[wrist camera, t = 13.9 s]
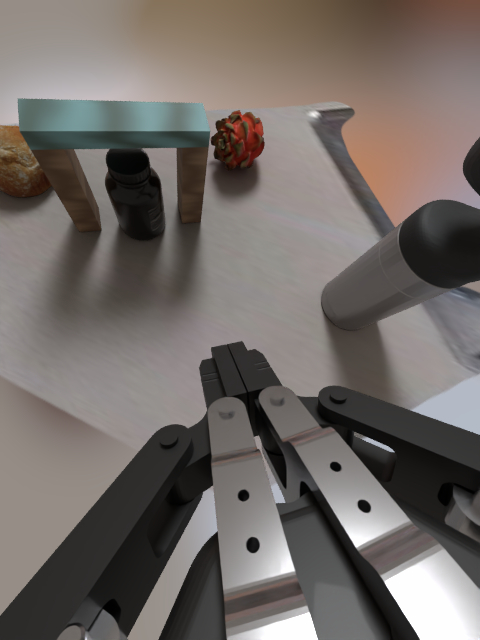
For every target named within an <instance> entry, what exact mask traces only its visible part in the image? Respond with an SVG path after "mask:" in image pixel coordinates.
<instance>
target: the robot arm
mask: <svg viewBox="0 0 480 640" xmlns="http://www.w3.org/2000/svg"><path fill="white" fill-rule="evenodd" d="M463 173H464V176H465V177H466V180H467V181H468V183H469V184H470V185H471V187H472V188H473V189H474V190H475V191H476V192H477V193H478V194H479V196H480V138H479V139H478V140H477V141H476V142H475V144H474V145H473V146H472V148H471V149H470V151H469V152H468V154H467V156H466V158H465V160H464V163H463ZM479 280H480V209H477V208H474V207H471V206H468V205H466V204H464V203H460V202H457V201H453V200H437V201H432V202H430V203H427V204H425V205H423V206H422V207H421V208H419V209H418V210H416V211H415V212H414V213H413V214H412V215H410V216H409V217H408V218H407V219H405V220H404V221H403V222H402V223H401V224H399V225H398V226H397V227H396V228H395V229H393V230H392V231H391V232H390V233H388V234H387V235H386V236H385V237H384V238H383V239H381V240H380V241H379V242H378V243H377V244H375V245H374V246H373V247H372V248H370V249H369V250H368V251H367V252H366V253H364V254H363V255H362V256H361V257H359V258H358V259H357V260H356V261H355V262H353V263H352V264H351V265H350V266H349V267H347V268H346V269H345V270H344V271H342V272H341V273H340V274H339V275H338V276H336V277H335V278H334V279H333V280H331V281H330V282H329V283H328V284H327V285H326V286H325V288H324V290H323V292H322V306H323V309H324V312H325V314H326V315H327V317H328V318H329V319H330V320H331V321H332V322H333V323H334V324H335V325H337V326H338V327H340V328H342V329H346V330H357V329H360V328H363V327H365V326H367V325H370V324H372V323H375V322H377V321H380V320H382V319H384V318H387V317H389V316H391V315H394V314H396V313H399V312H401V311H403V310H406V309H408V308H410V307H413V306H415V305H418V304H420V303H422V302H425V301H427V300H429V299H432V298H434V297H436V296H439V295H441V294H443V293H446V292H448V291H450V290H453V289H455V288H458V287H460V286H462V285H465V284H467V283H470V282H475V281H479ZM211 352H212V358H211V359H206V360H202V362H201V364H200V367H199V370H200V375H201V381H202V387H203V392H204V397H205V402H206V407H207V412H206V414H205V416H204V418H203V419H202V420H201V421H200V422H198V423H197V424H195V425H194V426H192V427H190V428H186V427H185V426H183V425H178V424H174V425H168V426H165V427H163V428H161V429H160V430H158V431H157V432H156V433H155V434H154V435H153V436H152V437H151V438H150V439H149V440H148V442H147V443H146V444H145V445H144V446H143V448H142V449H141V450H140V451H139V452H138V453H137V455H136V456H135V457H134V458H133V459H132V461H131V462H130V463H129V464H128V465H127V466H126V468H125V469H124V470H123V471H122V472H121V474H120V475H119V476H118V477H117V478H116V479H115V481H114V482H113V483H112V484H111V486H110V487H109V488H108V489H107V490H106V491H105V493H104V494H103V495H102V496H101V497H100V498H99V500H98V501H97V502H96V503H95V504H94V506H93V507H92V508H91V509H90V510H89V511H88V513H87V514H86V515H85V516H84V517H83V519H82V520H81V521H80V522H79V523H78V524H77V526H76V527H75V528H74V529H73V530H72V532H71V533H70V534H69V535H68V536H67V537H66V539H65V540H64V541H63V542H62V544H61V545H60V546H59V547H58V548H57V549H56V550H55V552H54V553H53V554H52V555H51V556H50V558H49V559H48V560H47V561H46V562H45V563H44V565H43V566H42V567H41V568H40V569H39V571H38V572H37V573H36V574H35V575H34V576H33V578H32V579H31V580H30V581H29V582H28V584H27V585H26V586H25V587H24V588H23V590H22V591H21V592H20V593H19V594H18V596H17V597H16V598H15V599H14V600H13V602H12V603H11V604H10V605H9V606H8V607H7V608H6V610H5V611H4V612H3V613H2V614H1V616H0V640H128V639H127V637H128V635H129V633H130V631H131V629H132V628H133V626H134V624H135V622H136V620H137V618H138V616H139V615H140V612H141V611H142V609H143V607H144V605H145V603H146V601H147V599H148V597H149V596H150V594H151V592H152V590H153V588H154V586H155V584H156V583H157V581H158V579H159V577H160V575H161V573H162V571H163V569H164V568H165V566H166V564H167V562H168V560H169V558H170V556H171V555H172V553H173V551H174V549H175V547H176V545H177V543H178V541H179V540H180V538H181V536H182V534H183V532H184V530H185V528H186V527H187V525H188V523H189V521H190V519H191V517H192V515H193V513H194V511H195V510H196V508H197V506H198V504H199V502H200V500H201V498H202V495H203V492H204V491H205V490H207V489H208V488H210V487H211V486H213V487H214V497H215V507H216V518H217V528H218V531H217V532H216V533H215V534H214V535H213V536H212V537H211V538H210V539H209V540H208V541H207V542H206V543H205V544H204V546H203V547H202V548H201V550H200V551H199V553H198V554H197V556H196V558H195V559H194V561H193V563H192V565H191V567H190V569H189V571H188V573H187V576H186V578H185V580H184V582H183V585H182V587H181V589H180V592H179V594H178V596H177V599H176V601H175V603H174V606H173V608H172V610H171V612H170V615H169V617H168V619H167V621H166V624H165V626H164V628H163V630H162V633H161V635H160V637H159V640H480V435H478V434H475V433H473V432H470V431H467V430H464V429H461V428H458V427H455V426H453V425H450V424H447V423H444V422H441V421H438V420H436V419H433V418H430V417H427V416H424V415H421V414H419V413H416V412H413V411H410V410H407V409H404V408H402V407H399V406H396V405H393V404H390V403H387V402H385V401H382V400H379V399H376V398H373V397H370V396H367V395H365V394H362V393H359V392H356V391H353V390H350V389H348V388H345V387H341V386H328V387H325V388H323V389H322V390H321V391H320V392H319V395H318V397H300V396H296V395H295V394H294V392H293V391H292V390H290V389H289V388H287V387H284V386H282V384H281V383H280V381H279V379H278V378H277V376H276V375H275V373H274V371H273V370H272V368H271V367H270V365H269V363H268V362H267V360H266V358H265V357H264V355H263V354H262V353H260V352H259V351H257V350H256V349H253V350H249V351H247V349H246V347H245V345H244V343H243V342H242V341H241V342H236V343H231V344H227V345H221V346H216V347H211ZM354 432H357V433H359V434H361V435H364V436H366V437H368V438H371V439H373V440H375V441H378V442H380V443H382V444H384V445H387V446H389V447H390V448H391V449H393V450H394V451H395V452H389V451H386V450H384V449H382V448H380V447H378V446H375V445H373V444H371V443H368V442H366V441H364V440H362V439H360V438H357V437H355V436H354ZM258 435H259V437H260V439H261V442H262V452H263V455H264V457H265V459H266V461H267V463H268V465H269V467H270V469H271V471H272V473H273V475H274V477H275V480H276V482H277V484H278V486H279V488H280V490H281V492H282V494H283V496H284V499H285V502H286V503H275V500H274V496H273V493H272V489H271V486H270V482H269V479H268V475H267V472H266V468H265V465H264V461H263V458H262V455H261V452H260V450H259V449H257V447H256V443H255V439H254V437H255V436H258Z"/></svg>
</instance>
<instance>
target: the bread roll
mask: <svg viewBox="0 0 480 640" xmlns="http://www.w3.org/2000/svg"><path fill="white" fill-rule="evenodd" d="M51 186H52V185H51V183H50V182H49V180H48V178H47V177H46V175H45V173H44V171H43V170H42V168H41V166H40V165H39V163H38V161H37V160H36V158H35V156H34V155H33V153H32V151H31V150H30V148H29V146H28V145H27V143H26V141H25V139H24V138H23V136H22V134H21V133H20V130H19V126H3V125H0V190H1V191H3V192H5V193H6V194H8V195H11V196H16V197H31V196H36V195H39V194H42V193H44V192H45V191H46V190H47V189H48V188H50V187H51Z"/></svg>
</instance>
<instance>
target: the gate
mask: <svg viewBox="0 0 480 640" xmlns="http://www.w3.org/2000/svg"><path fill="white" fill-rule="evenodd" d="M18 113H19V130H20V133H21V134H22V136H23V138H24V139H25V141H26V143H27V145H28V146H29V148H30V150H31V151H32V153H33V155H34V156H35V158H36V160H37V161H38V163H39V165H40V166H41V168H42V170H43V171H44V173H45V175H46V177H47V178H48V180H49V182H50V183H51V185H52V187H53V188H54V190H55V192H56V193H57V195H58V197H59V198H60V200H61V202H62V203H63V205H64V207H65V208H66V210H67V212H68V214H69V215H70V217H71V219H72V220H73V222H74V224H75V225H76V227H77V229H78V230H79V232H86V231H98V230H101V222H100V215H99V207H98V205H97V203H96V200H95V198H94V196H93V193H92V191H91V189H90V186H89V184H88V182H87V179H86V177H85V174H84V172H83V170H82V167H81V165H80V163H79V160H78V158H77V156H76V153H75V151H74V149H118V148H177V193H178V206H179V211H180V215H181V220H182V223H193V222H201V214H202V204H203V195H204V185H205V176H206V166H207V157H208V147H209V138H210V129H209V125H208V121H207V117H206V114H205V110H204V106H203V104H202V103H170V102H131V101H93V100H53V99H18Z"/></svg>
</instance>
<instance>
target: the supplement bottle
mask: <svg viewBox="0 0 480 640" xmlns="http://www.w3.org/2000/svg"><path fill="white" fill-rule="evenodd" d="M106 164H107V167H108V172H107V174H106V178H105V186H106V190H107V193H108V195H109V198H110V201H111V203H112V206H113V208H114V211H115V214H116V216H117V219H118V222H119V224H120V226H121V228H122V230H123V231H124V232H125V234H127V235H128V236H129V237H131V238H133V239H136V240H150V239H153V238H155V237H157V236H158V235H160V234H161V232H162V231H163V229H164V227H165V213H164V204H163V196H162V188H161V182H160V178H159V176H158V174H157V173H156V172H155V170H154V169H153V168H152V167H151V166H150V162H149V157H148V155H147V154H146V152H145V151H144V150H143V149H142V148H118V149H109V151H108V152H107V155H106Z"/></svg>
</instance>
